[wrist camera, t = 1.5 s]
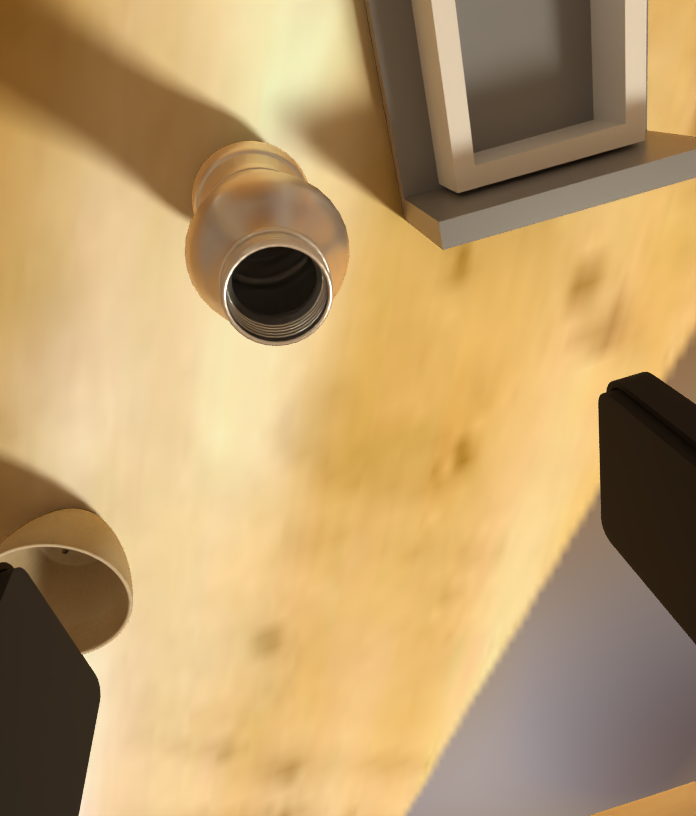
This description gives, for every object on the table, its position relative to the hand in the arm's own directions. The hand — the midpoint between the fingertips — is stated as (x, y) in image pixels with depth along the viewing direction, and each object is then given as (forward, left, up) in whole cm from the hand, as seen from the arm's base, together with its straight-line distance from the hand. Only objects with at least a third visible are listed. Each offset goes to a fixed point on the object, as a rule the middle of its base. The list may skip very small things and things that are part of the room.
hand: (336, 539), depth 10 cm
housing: (-4, +17, -32) cm, 37 cm away
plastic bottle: (0, 0, -32) cm, 32 cm away
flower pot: (+20, -20, -32) cm, 43 cm away
